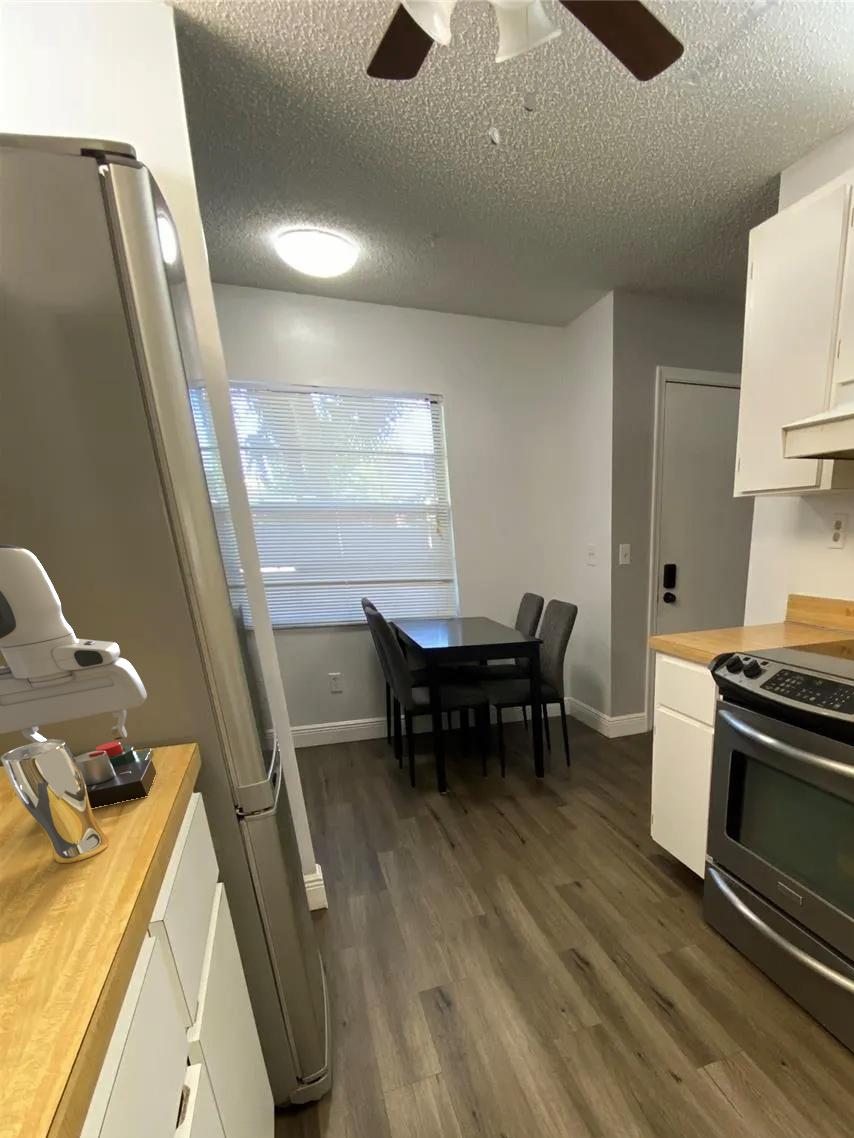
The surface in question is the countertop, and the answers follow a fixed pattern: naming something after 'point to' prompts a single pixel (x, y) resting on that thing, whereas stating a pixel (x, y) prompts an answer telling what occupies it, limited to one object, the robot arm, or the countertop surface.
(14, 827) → the countertop surface
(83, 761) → the knob
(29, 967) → the countertop surface
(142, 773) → the panel
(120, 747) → the button
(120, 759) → the switch block
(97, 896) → the countertop surface
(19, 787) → the beer glass
